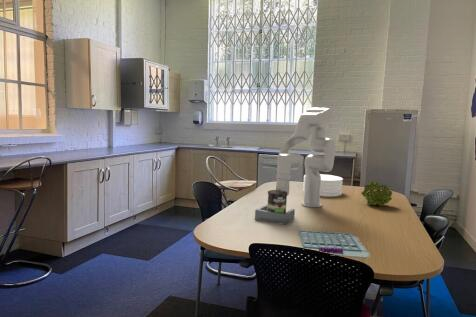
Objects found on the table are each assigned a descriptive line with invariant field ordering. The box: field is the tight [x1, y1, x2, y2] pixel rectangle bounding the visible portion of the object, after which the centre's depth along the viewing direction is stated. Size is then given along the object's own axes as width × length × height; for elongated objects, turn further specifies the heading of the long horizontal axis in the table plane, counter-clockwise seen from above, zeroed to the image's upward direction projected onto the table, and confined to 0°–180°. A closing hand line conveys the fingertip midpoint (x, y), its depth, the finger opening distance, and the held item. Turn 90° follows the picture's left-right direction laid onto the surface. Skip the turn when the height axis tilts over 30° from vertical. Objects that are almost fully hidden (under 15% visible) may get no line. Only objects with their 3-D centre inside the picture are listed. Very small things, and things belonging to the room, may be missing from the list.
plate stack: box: [302, 173, 344, 197], centre depth 267 cm, size 28×28×12 cm
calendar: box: [298, 229, 372, 259], centre depth 156 cm, size 27×28×2 cm
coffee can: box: [266, 189, 288, 214], centre depth 193 cm, size 10×10×14 cm
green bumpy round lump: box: [360, 180, 393, 207], centre depth 231 cm, size 18×16×16 cm
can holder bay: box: [254, 204, 296, 225], centre depth 192 cm, size 14×17×5 cm
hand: (282, 208), depth 201 cm, fingers closed
